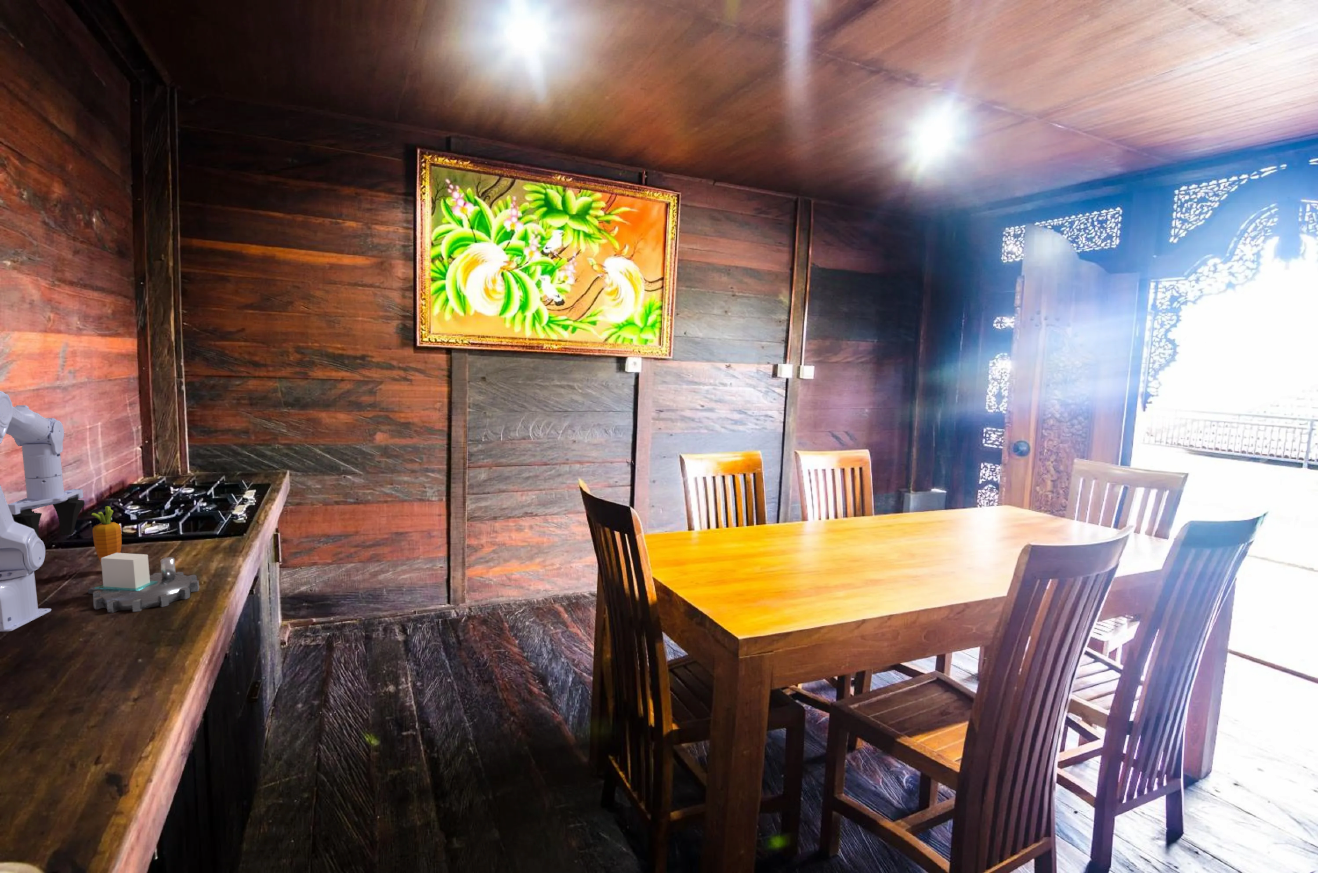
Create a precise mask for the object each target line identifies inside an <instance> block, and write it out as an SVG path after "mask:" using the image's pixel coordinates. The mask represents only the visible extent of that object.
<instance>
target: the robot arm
mask: <svg viewBox="0 0 1318 873" xmlns="http://www.w3.org/2000/svg"><path fill="white" fill-rule="evenodd" d="M6 435H9V436H11V438H13V440H14V442H15V444H16V446H18V447H21V452H22V453H21V454H22V461H23V463H22V464H23V471H24V472H23V473H24V480H25V490H26V497H24V498H22V499H19V500H17V501H13V502H11V503H8V501H7V499H6V496H5V494H4V491H3V488H2V486H1V485H0V632H12V631H14V630H16V629H19V628H20V627H22V626H24V625H26V624H28V623H30V622H31V621H34V620H36V619H38V618H40V617H41V616H42V617H43V616H44V615H46V614H48V613H50V612H51V611H52V608H39V607H38V605H39V604H38V596H37V587H36V578H35V571H36V570H39V569H40V567H42V566H43V564H44V561H45V557H46V546H45V544H44V541H43V540H41V538H40V534H39V528H40V522H41V519H42V515H43V513H42V512H35V511H34V510H35V509H41V508H43V507H49V506H51V505H52V506H53V508H54V511H55V512H56V515H57V518H58V525H59V529H60V533H61V535H62V536H63V535H64V536H66V535H67V536H72V535H74V532H75V528H76V524H77V520H78V517H79V515H80V513H81V511H82V509H83V507H85V505H86V504H85V500H84V490H83V488H81V489H80V488H73V489H67V490H65V488H64V478H63V468H62V457H61V453H63V452H64V445H63V443H64V438H65V429H64V425H63V423H62V422H61V421H60V419H59V420H58V419H56V418H54V417H44V416H42V415H41V414H40V413H38V412H35V411H34V410H32V409H30V406H28V405H26V404H22V405H21V404H19V405H18V404H16V405H15V406H13V402H12V400H11V398H10V395H9V394H8V393H5V392H4V391H2V390H0V444H2V442H3V439H4V438H5V436H6Z"/></svg>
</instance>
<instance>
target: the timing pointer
mask: <svg viewBox="0 0 1318 873" xmlns="http://www.w3.org/2000/svg"><path fill="white" fill-rule="evenodd" d="M95 587H96V586H92V587H90V588H88V589H87V593H88V594H89V595H93V592H94V591H99V590H103V589H95Z"/></svg>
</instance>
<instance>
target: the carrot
mask: <svg viewBox="0 0 1318 873" xmlns="http://www.w3.org/2000/svg"><path fill="white" fill-rule="evenodd" d="M104 508H105V509H104V510H105V515H104V513H103V512H102V511H98V513H95V512H92V513H91V516H92V517H95V518H96V519H97V520H99V522H100V523H99V524H96V525H94V526H93V527H92V537H93V538H92V539H93V544H94V548H95V552H96V555H97V558H98V560H99V562H100V563H101V558H103V557H106V556H108V555H111V554H114V553H122V552H121V551H122V545H123V544H122V542H123V541H122V537H123V536H122V526H121V525H120V524H119V523H116V522H115V521H113V522H112V520H111V519H112V515H113V513H114V510H113V509H111V506H108V505H107V506H105V507H104Z"/></svg>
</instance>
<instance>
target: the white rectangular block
mask: <svg viewBox="0 0 1318 873" xmlns="http://www.w3.org/2000/svg"><path fill="white" fill-rule="evenodd" d="M149 564H150V563H149V555H148V554H143V553H126V552H125V553H124V552H121V553H114V554H111V555H108V556H106V557H103V558H101V562H100V565H101V574H102V575H101V576H102V585H103V587H119V588H135V589H136V588H138V587H140V586H143V585H145V584H148V583H150V576H149V575H150V567H149V566H150V565H149Z"/></svg>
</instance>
